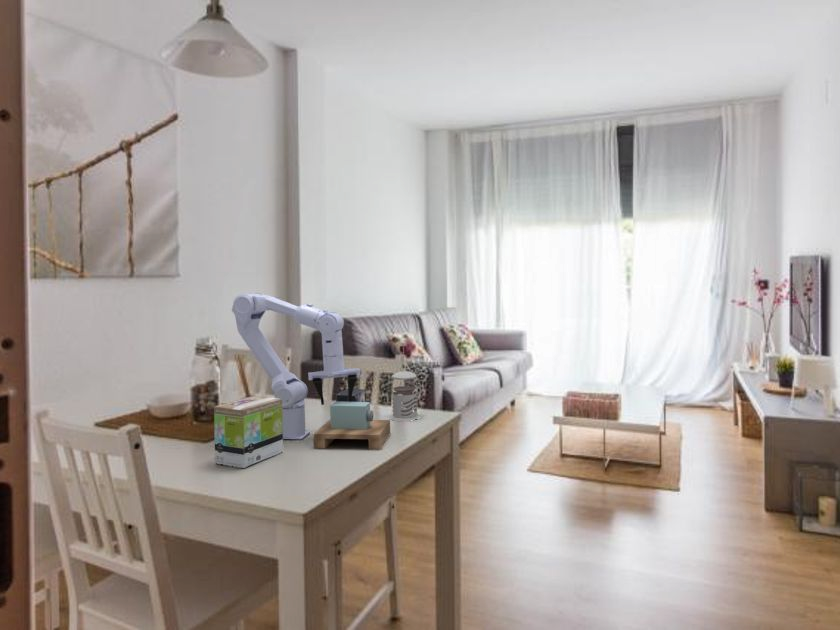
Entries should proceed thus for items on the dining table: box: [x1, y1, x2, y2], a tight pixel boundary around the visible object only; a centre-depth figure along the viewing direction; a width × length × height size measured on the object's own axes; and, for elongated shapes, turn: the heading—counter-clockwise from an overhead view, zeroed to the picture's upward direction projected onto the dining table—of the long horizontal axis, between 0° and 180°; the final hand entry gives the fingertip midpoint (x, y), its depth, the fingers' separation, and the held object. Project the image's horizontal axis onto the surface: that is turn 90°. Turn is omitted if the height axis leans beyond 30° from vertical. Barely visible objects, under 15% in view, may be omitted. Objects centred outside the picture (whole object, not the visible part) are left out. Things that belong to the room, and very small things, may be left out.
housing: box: [329, 401, 374, 430], centre depth 165 cm, size 11×5×6 cm, turn 78°
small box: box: [335, 387, 366, 402], centre depth 184 cm, size 11×6×10 cm, turn 169°
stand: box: [313, 419, 391, 450], centre depth 166 cm, size 18×16×4 cm
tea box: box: [213, 395, 284, 469], centre depth 152 cm, size 15×10×15 cm, turn 155°
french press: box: [390, 340, 422, 422], centre depth 192 cm, size 10×12×25 cm
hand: (336, 402), depth 169 cm, fingers open, 7 cm apart
